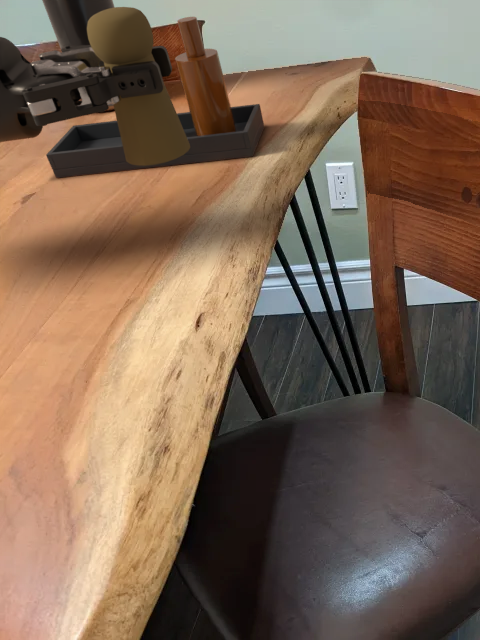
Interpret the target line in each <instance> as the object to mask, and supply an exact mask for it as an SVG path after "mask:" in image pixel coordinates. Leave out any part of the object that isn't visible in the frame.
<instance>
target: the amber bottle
mask: <svg viewBox="0 0 480 640" xmlns="http://www.w3.org/2000/svg"><path fill="white" fill-rule="evenodd" d="M198 21H199V20H198V17H197V16H187V17H181V18H179V19H178V20H177V21H176V22H177V26H178V29H179V33H180V37H181V41H182V45H183V48H184V52H183V53H181V54H179V55H177V56H176V57H175V58H174V61H175V64H176V68H177V72H178V76H179V79H180V82H181V86H182V89H183V90H182V91H183V93H184V96H185V100H186V104H187V107H188V112H190V114H191V118H192V122H193V125H194V129H195V132H196V136H202V135H211V134H220V133H229V132H237V131H236V127H235V122H234V118H233V114H232V110H231V107H232V106H231V102H230V97H229V94H228V91H227V90H228V89H227V86H226V81H225V77H224V73H223V68H222V65H221V61H220V57H219V53H218V52H219V51H218V50H217V49H216V48H205V45H204V41H203V37H202V33H201V30H200V25H199V22H198Z"/></svg>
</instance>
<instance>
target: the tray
mask: <svg viewBox="0 0 480 640" xmlns="http://www.w3.org/2000/svg"><path fill="white" fill-rule="evenodd" d="M231 110H232V114H233V118H234V122H235V127H236V131H237V132H229V133H220V134H211V135H202V136H196V132H195V129H194V125H193V122H192V118H191V114H190V111H185V112H176V113H177V115H178V118H179V120H180V122H181V125H182V127H183V130H184V132H185V134H186V137H187V139H188V142H189V144H190V149H189V151H188V152H186V153H185V154H184V155H182V156H180V157H178V158H176V159H174V160H171V161H168V162H165V163H160V164H156V165H146V166H142V165H133V164H130V163H128V162H127V161H126V158H125V153H124V149H123V145H122V140H121V136H120V131H119V127H118V123H117V120H109V121H108V120H107V121H102V122H101V121H100V122H92V123H83V124H75V125H72V127H71V128H69V129H68V131H67V132H66V133H64V135H63V136H62V137H61V138H60V139H59V140H58V141H57V142H56V144H54V146H52V148H51V149H50V150H49V151H47V153H46V154H45V156H46V159H47V161H48V164H49V165H50V167H51V168H50V169H51V170H52V172H53V175H54V176H55V179H61V178H69V177H78V176H89V175H96V174H97V175H98V174H107V173H117V172H123V171H125V172H126V171H132V170H141V169H153V168H160V167H170V166H179V165H189V164H197V163H205V162H215V161H223V160H233V159H245V158H250V157H254V156H255V153H256V150H257V147H258V144H259V142H260V139H261V137H262V134H263V131H264V129H265V123H264V120H263V114H262V109H261V104H260V103H253V104H247V105H246V104H245V105H235V106H231Z"/></svg>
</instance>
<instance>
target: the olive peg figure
mask: <svg viewBox="0 0 480 640" xmlns="http://www.w3.org/2000/svg"><path fill="white" fill-rule="evenodd" d="M87 34H88V40H89V42H90V45H91V47H92V49H93V51H94V53H95V54H96V55H97V56H98V57H99V58H100V59H101V60H102V61H103V62H104V65H105V67H110V70H111V72H112V67H113V66H119V65H127V64H133V63H140V62H147V61H154V62H155V60H154V58H153V55H152V53H151V52H152V48H153V47H154V43H155V42H154V34H153V30H152V26H151V24H150V22H149V20H148V18H147V16H146V15H145V14H144V12H142V10H140V9H138V8H136V7H131V6H114V8H109V9H106V10H103V11H101V12H99V13H97V14H95V15H93V16H92V17H91V18H90V19H89V20H88V24H87ZM112 73H113V72H112ZM120 99H121V100H120V101H119V102H117V103H116V104H113V105H114V109H113V110H114V113H115V117H116V118H115V119H116V121H117V123H118V127H119V131H120V136H121V140H122V145H123V149H124V153H125V158H126V161H127V162H128V163H130V164H133V165H142V166H146V165H156V164H160V163H165V162H168V161H171V160H174V159H176V158H178V157H180V156H182V155H184V154H185V153H186V152H188V151H189V149H190V144H189V142H188V139H187V137H186V134H185V132H184V130H183V127H182V125H181V122H180V120H179V118H178V115H177V113H178V112H177V111H176V108H175V106H174V104H173V100H172V98H171V95H170V93H169V91H168V89H167V87H166V84H165V83H164V88H163V90H162V92H161V93H157V94H149V95H142V96H135V97H128V98H121V95H120Z"/></svg>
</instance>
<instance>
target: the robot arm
mask: <svg viewBox="0 0 480 640" xmlns="http://www.w3.org/2000/svg"><path fill="white" fill-rule="evenodd" d="M41 1H42V3H43V6H44V8H45V11H46V14H47V17H48V20H49V22H50V25H51V27H52V30H53V32H54V35H55V38H56V41H57V43H58V46H59V49H60V51H59V50H56V49H55V50H50V51H45V52H41V53H39V54H38V58H39V59H37V60H35V61H32V62H30V61H29V60H28V59H27V58H26V57H25V56H23V54H22V53H21V50H20V49H19V48H18V46H17V45H15V44H14V43H13V42H12V41H11V40H9V39H8V38H6V37H3V36H0V143H4V142H5V143H6V142H11V141H19V140H26V139H33V138H36V137H38V136H39V135H40V134H41V133H42V131H43V128H44V127H45V126H47V125H51V124H55V123H59V122H63V121H67V120H68V121H69V120H71V119H76V118H79V117H84V116H90V115H93V114H97V113H104V112H108V111H112V110H113V111H114V110H115V109H114V105H113V104H116V103H117V102H119V101H120V100H121V99H120V95H121V98H128V97H135V96H142V95H149V94H157V93H161V92H162V90H163V88H164V84H165V82H164V79H163V78H166V77H167V78H168V77H169V76H171V74H172V72H173V66H172V63H171V58H170V55H169V51H168V49H167V48H166V46H164V45H153V48H152V52H151V53H152V55H153V58H154V60H155V62H154V61H147V62H140V63H133V64H127V65H119V66H113V67H112V72H113V73H112V72H111V70H110V67H105V65H104V62H103V61H102V60H101V59H100V58H99V57H98V56H97V55H96V54H95V53H94V51H93V49H92V47H91V45H90V42H89V40H88V34H87V24H88V20H89V19H90V18H91V17H92V16H93V15H95V14H97V13H99V12H101V11H103V10H106V9H109V8H114V7H115V4H114V1H113V0H41Z"/></svg>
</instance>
